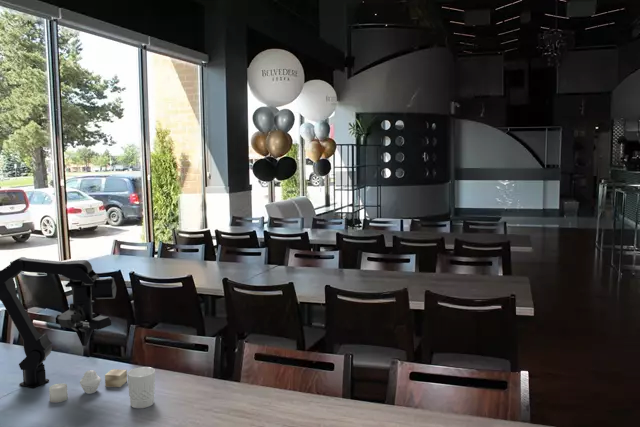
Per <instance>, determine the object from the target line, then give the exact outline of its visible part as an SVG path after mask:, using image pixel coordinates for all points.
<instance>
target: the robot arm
mask: <svg viewBox="0 0 640 427" xmlns="http://www.w3.org/2000/svg"><path fill="white" fill-rule="evenodd" d="M92 265H93V264H91V263H90V261H88V260H87V259H80V260H79V259H78V260H77V259H76V260H70V261H60V260H59V261H57V260H48V259H47V260H46V259H39V258H38V259H37V258H27V257H24V256H21V257H18V258H16V259H15V260H13V261H12V263H10V264H9V265H7V266H6V267H4V268H3V269H1V270H0V302H1V304H2V306H3V307H4V308H5V310H6V312H7V314H8V316H9V317H10V319H11V321H12V323H13V324H14V326H15V327H16V330H17V332H18V334H19V335H20V337H21V339H22V343H23V350H24V354H25V357H24V358H23V359H22V360H21V362H19V363H18V367H19V369H20V370H21V371H22V379H23V381H21V382H20V383H19V386H20V387H21V386H22V387H27V388H31V389H35V388H37V387H39V386H41V385H44V384H46V383H48V382H50V379H48V378H46V377H47V376H46V369H45V367H46V366H45V364H44V362H45V361H46V359H47V358H48V356H49V355H50V354H51V353H52V350H53V348H52V344H53V342H52V341H51V340H50V339H49V336H48V334H47V333H44V334H41V333H40V332H38V331H37V330H38V329H36V327H35V325H34V323H33V321H32V320H31V318H30V316H29V314H28V312H27V311H26V309H25V307H24V306H23V304H22V302H21V300H20V298H19V295H18V294H17V287H16V286H17V285H16V282H15V279H14V278H16V277H17V276H18V275H20V274H21V273H22V272H30V273H39V274H49V275H58V276H62V277H64V278H65V279H69V281H68V282H67V283H66V284H65V285H64V286H65V287H66V288H72V302H71V303H69V307H68V310H66V311H64V312H61V313H59V314H57V315H56V316H55V324H56V325H60V327H61V328H68V329H72V330H74V332H76V334H77V338H78V340H79V342H80V343H81V346H82V347H86V346H87V344H88V343H89V340H90V339H91V336H92V334H93V332H94V330H98V331H99V330H102V329H104V328H107V327H110V326H112V318H111V317H110V316H103V315H100V316H97V317H96V313H95V312H93V305H96V301H95V300H92V297H93V298H95V299H96V300H105V299H109V300H110V299H116V295H117V285H116V281H115V278H114V277H107V278H100V276H99V275H98V274H97V272H96V271H94V269H93V266H92Z"/></svg>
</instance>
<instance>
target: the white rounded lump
mask: <svg viewBox="0 0 640 427" xmlns="http://www.w3.org/2000/svg"><path fill="white" fill-rule="evenodd" d="M48 388H49V389H48V390H49V391H48V392H49V393H48V394H49V395H48V396H49V402H50V403H54V404H55V403H57V404H58V403H63V402H64V401H66V400H67V399H68V398H69V397H68V385H67V384H66V383H62V382H61V383H56V384H52V385H51V386H49V387H48Z"/></svg>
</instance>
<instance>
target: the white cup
mask: <svg viewBox="0 0 640 427" xmlns="http://www.w3.org/2000/svg"><path fill="white" fill-rule="evenodd" d="M155 382H156V369H155V368H153V367H150V366H141V367H135V368H132V369H130V370H128V371H127V384H128V395H129V396H128V397H129V402H130V407H132V408H134V409H144V408H149V407H151V406H152V405H154V401H155V392H156V390H155V389H156V388H155V386H156V383H155Z"/></svg>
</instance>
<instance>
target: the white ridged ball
mask: <svg viewBox="0 0 640 427" xmlns="http://www.w3.org/2000/svg"><path fill="white" fill-rule="evenodd" d="M101 381H102V379H101V376H99V375H98V374H97V372H96V370H93V369H92V370H91V369H90V370H87V371H85V372H84V374H83V376H82V378H81V379H80V381H79V384H80V387H81V388H82V390H83V391H84V393H85V394H88V395H89V394H94V393H96V392H97V391H98V389H99V387H100V384H101Z"/></svg>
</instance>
